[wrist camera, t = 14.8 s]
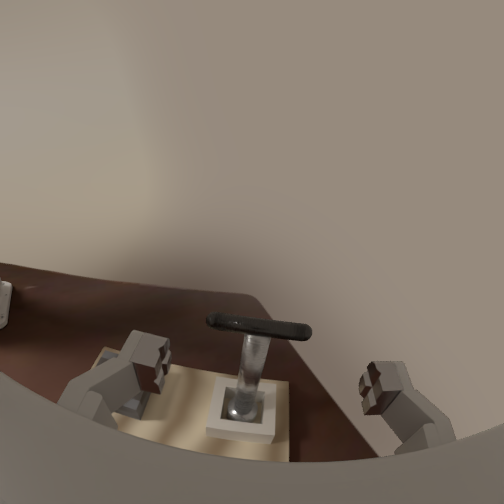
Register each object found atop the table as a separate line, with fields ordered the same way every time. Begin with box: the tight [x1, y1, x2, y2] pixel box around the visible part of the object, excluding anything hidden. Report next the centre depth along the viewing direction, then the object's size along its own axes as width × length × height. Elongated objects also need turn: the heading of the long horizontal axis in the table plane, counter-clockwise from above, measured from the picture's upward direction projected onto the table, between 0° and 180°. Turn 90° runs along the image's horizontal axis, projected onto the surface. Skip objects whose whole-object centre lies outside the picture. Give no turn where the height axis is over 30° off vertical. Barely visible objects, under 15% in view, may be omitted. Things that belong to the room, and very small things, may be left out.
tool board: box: [91, 346, 289, 462], centre depth 33 cm, size 30×14×4 cm, turn 86°
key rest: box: [206, 376, 276, 444], centre depth 32 cm, size 8×8×3 cm
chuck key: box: [206, 312, 312, 423], centre depth 29 cm, size 10×4×18 cm, turn 86°
